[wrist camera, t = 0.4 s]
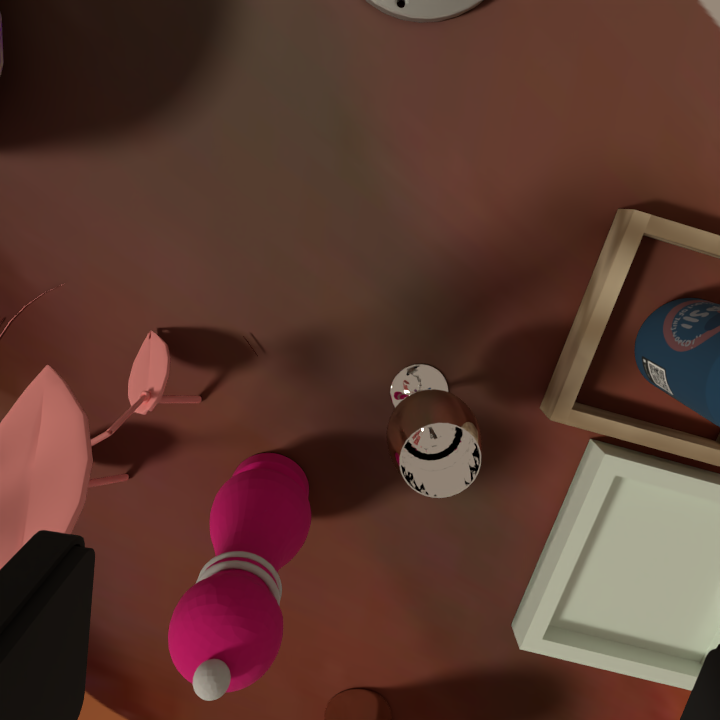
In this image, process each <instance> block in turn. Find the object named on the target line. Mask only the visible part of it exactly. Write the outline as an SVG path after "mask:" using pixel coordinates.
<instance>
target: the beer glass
mask: <svg viewBox="0 0 720 720" xmlns="http://www.w3.org/2000/svg"><path fill="white" fill-rule="evenodd" d="M324 720H392V713H391V709H390V707H389V705H388V703H387V702H386V700H385V699H384V698H383V697H382V696H380V695H379V694H377V693H375V692H373V691H370V690H366V689H350V690H346V691H343V692H341V693H339V694H337V695H336V696H335V697H333V698H332V699H331V700H330V702H329V703H328V705H327V707H326V710H325V714H324Z"/></svg>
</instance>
